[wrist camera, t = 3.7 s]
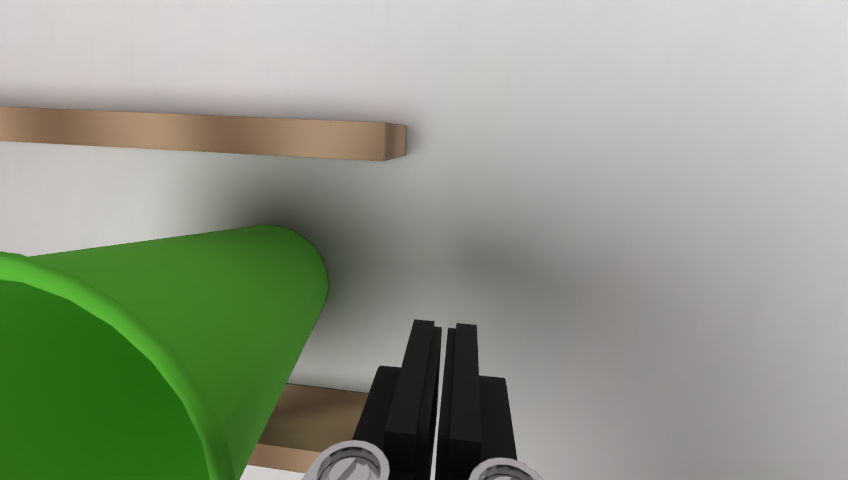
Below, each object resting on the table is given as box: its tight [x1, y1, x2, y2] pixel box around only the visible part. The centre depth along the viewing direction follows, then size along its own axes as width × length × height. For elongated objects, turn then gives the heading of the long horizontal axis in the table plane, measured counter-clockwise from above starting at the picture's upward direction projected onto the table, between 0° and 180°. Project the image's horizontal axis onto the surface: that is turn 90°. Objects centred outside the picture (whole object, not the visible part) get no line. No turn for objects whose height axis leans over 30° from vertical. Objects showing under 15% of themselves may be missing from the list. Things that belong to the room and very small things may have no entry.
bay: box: [0, 107, 406, 473], centre depth 17 cm, size 28×14×5 cm, turn 87°
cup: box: [0, 225, 328, 480], centre depth 13 cm, size 9×9×11 cm
